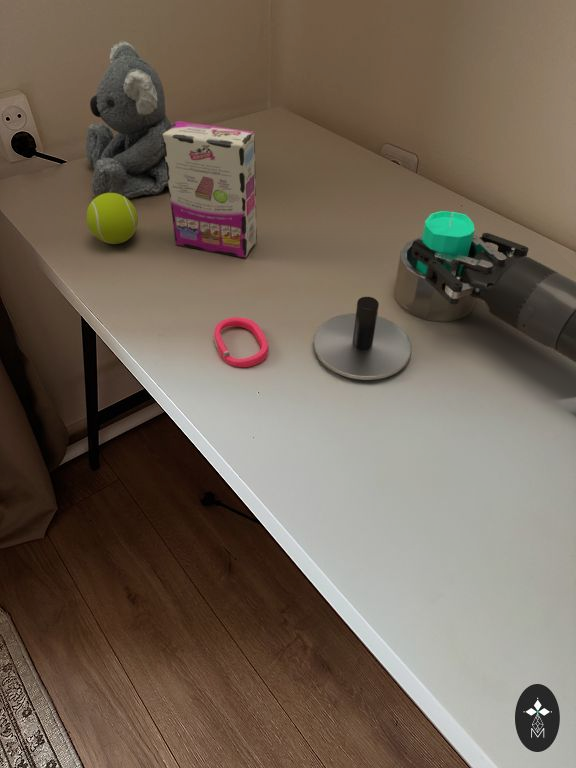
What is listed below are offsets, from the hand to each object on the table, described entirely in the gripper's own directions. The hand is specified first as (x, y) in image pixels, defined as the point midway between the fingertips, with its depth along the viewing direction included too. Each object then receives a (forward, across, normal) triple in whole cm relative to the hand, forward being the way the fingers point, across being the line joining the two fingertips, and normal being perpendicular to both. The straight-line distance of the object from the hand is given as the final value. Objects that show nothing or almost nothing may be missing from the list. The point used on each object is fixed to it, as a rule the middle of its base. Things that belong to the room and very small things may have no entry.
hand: (429, 239), depth 81 cm
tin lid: (-5, -15, -7) cm, 17 cm away
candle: (-3, 0, -7) cm, 8 cm away
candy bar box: (+25, -16, -8) cm, 31 cm away
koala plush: (+50, -14, -8) cm, 52 cm away
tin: (-3, 0, -8) cm, 8 cm away
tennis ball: (+35, -27, -8) cm, 45 cm away
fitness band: (+5, -26, -8) cm, 28 cm away
